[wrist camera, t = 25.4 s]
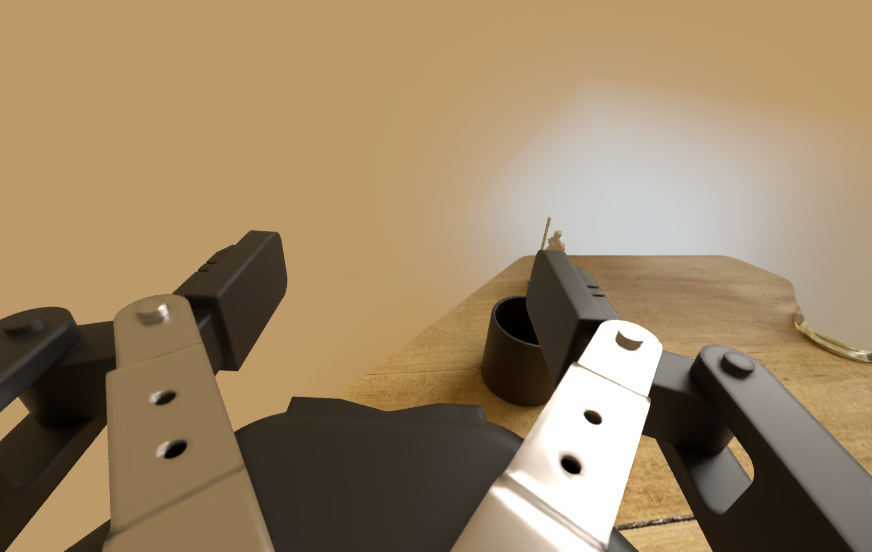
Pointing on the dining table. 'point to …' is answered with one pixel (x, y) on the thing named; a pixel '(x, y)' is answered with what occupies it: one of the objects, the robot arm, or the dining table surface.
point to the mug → (515, 356)
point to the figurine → (553, 240)
